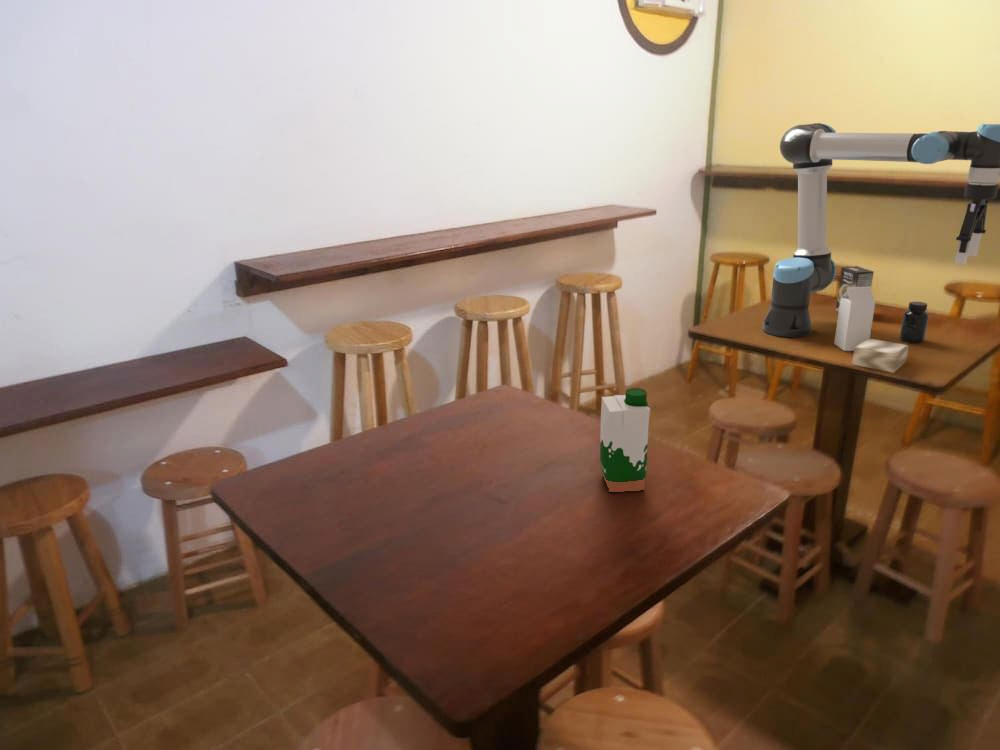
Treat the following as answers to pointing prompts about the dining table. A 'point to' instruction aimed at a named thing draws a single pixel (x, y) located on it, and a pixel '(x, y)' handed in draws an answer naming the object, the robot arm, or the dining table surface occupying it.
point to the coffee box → (853, 280)
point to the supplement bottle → (914, 323)
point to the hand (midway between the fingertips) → (965, 259)
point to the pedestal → (880, 355)
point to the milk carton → (854, 317)
